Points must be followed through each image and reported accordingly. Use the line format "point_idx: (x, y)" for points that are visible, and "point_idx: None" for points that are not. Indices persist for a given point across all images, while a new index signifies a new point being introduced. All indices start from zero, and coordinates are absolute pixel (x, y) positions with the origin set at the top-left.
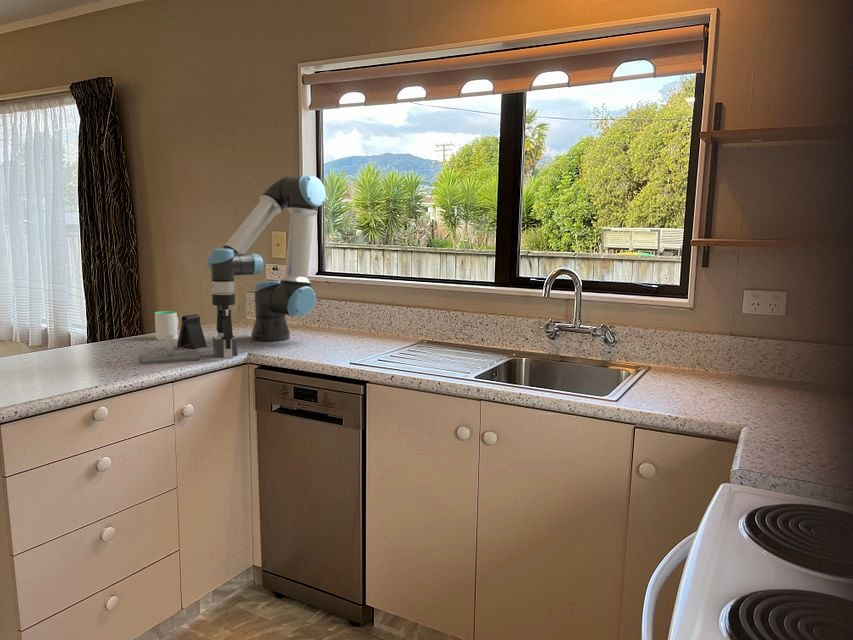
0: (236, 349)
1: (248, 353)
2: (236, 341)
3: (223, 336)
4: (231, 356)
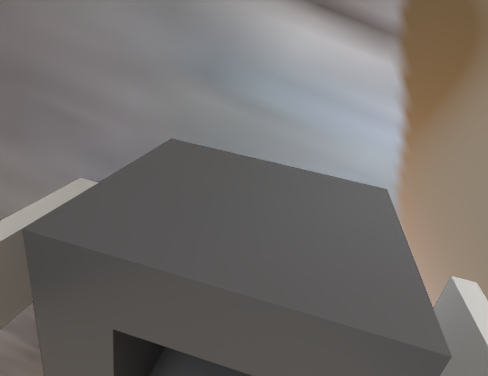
0: (398, 235)
1: (323, 10)
2: (431, 319)
3: (57, 369)
4: (477, 299)
